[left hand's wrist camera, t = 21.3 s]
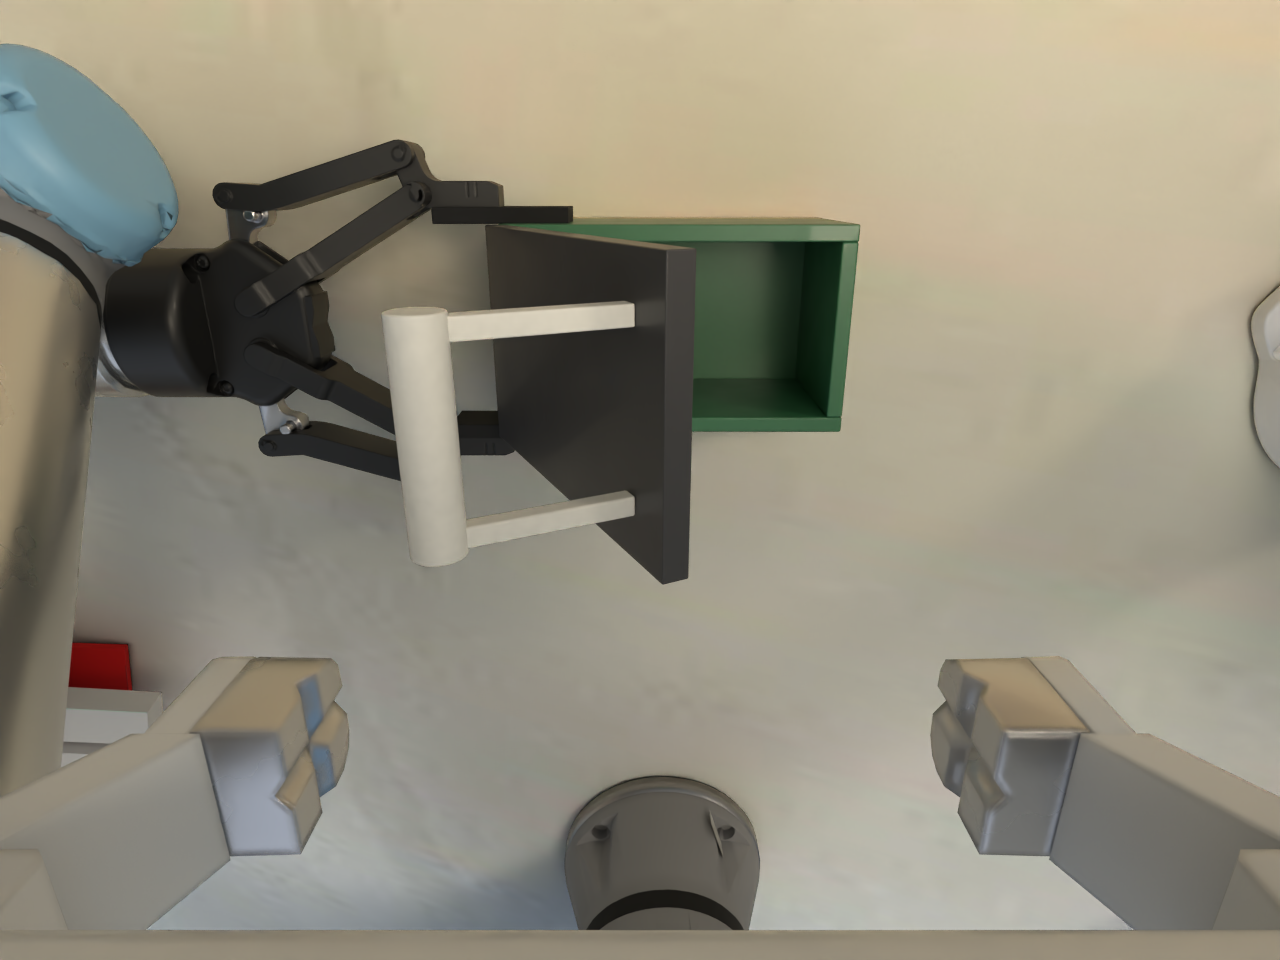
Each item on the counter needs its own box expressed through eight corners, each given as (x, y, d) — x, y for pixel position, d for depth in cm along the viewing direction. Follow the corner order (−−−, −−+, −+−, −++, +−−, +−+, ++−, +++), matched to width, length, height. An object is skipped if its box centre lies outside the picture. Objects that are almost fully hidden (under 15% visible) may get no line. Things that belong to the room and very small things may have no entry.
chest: (817, 217, 44) (860, 224, 35) (804, 387, 48) (840, 432, 39) (526, 217, 44) (496, 224, 35) (534, 387, 48) (509, 432, 39)
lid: (697, 248, 21) (389, 259, 17) (688, 578, 24) (432, 641, 21) (505, 224, 35) (317, 228, 32) (517, 433, 39) (349, 457, 35)
